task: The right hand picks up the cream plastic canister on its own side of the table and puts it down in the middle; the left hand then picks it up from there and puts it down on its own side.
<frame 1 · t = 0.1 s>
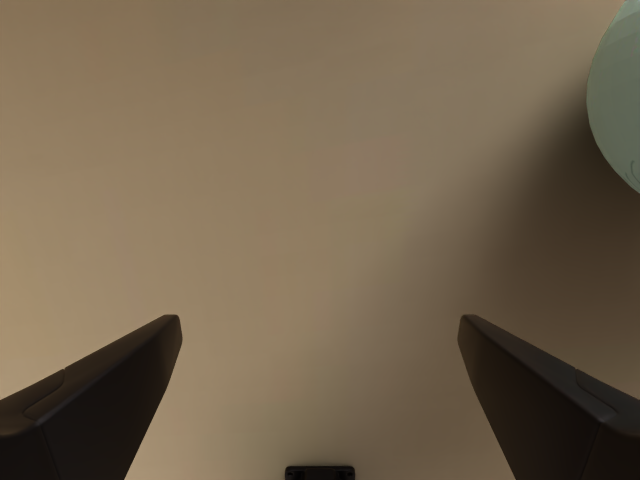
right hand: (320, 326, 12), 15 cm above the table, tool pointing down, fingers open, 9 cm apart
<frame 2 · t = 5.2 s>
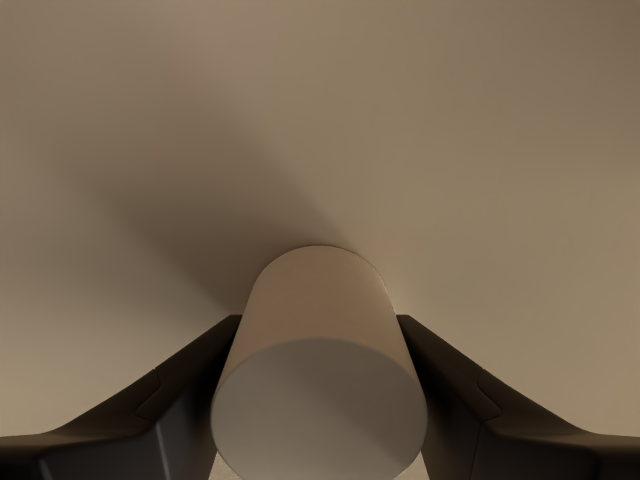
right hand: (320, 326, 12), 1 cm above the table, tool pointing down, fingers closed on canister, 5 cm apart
canister: (319, 309, 13), on the table, touching right hand
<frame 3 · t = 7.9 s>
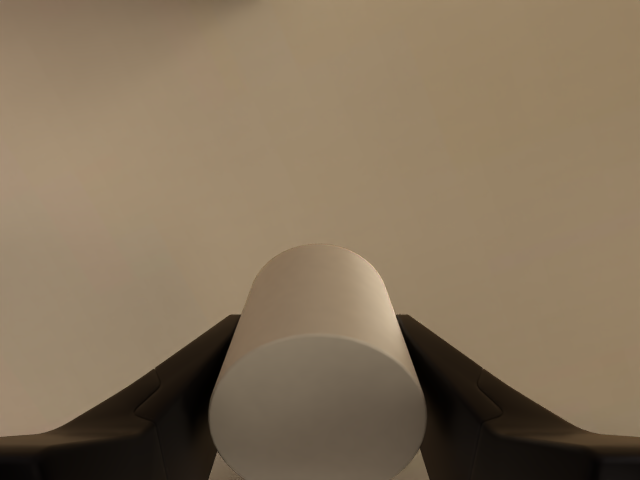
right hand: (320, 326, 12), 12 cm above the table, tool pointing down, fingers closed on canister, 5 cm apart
canister: (318, 307, 13), point 11 cm above the table, touching right hand
when the right hand's fingers open (2 cm above the table, at t = 10.6 s): canister stays where it is, on the table.
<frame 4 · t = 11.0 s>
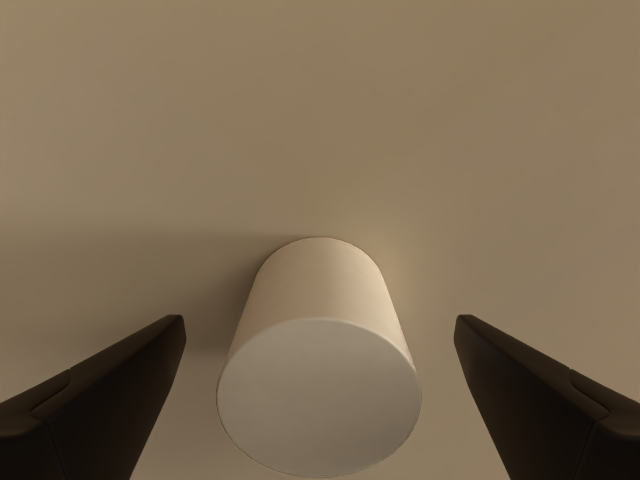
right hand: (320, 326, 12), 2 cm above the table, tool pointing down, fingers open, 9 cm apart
canister: (319, 299, 13), on the table
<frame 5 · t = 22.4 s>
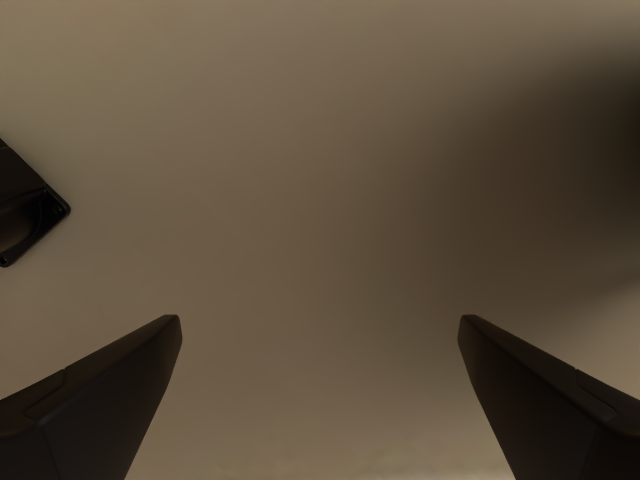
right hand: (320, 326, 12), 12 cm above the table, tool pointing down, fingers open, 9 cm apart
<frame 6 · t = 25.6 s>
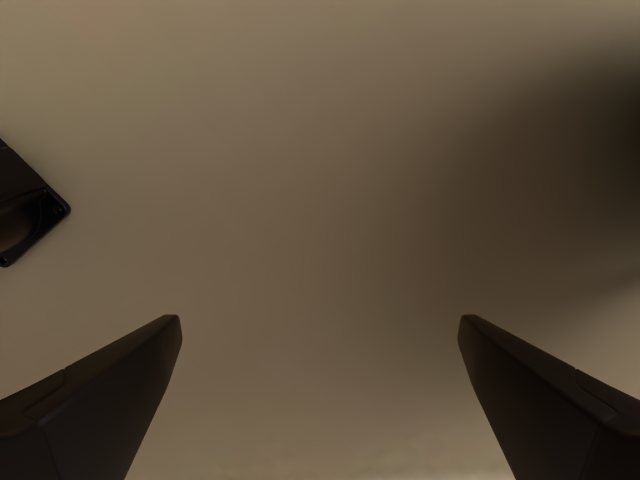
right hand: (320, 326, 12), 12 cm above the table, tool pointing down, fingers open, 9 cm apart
when the left hand's fingers open (2 cm above the table, at t = 28.8 s): canister stays where it is, on the table.
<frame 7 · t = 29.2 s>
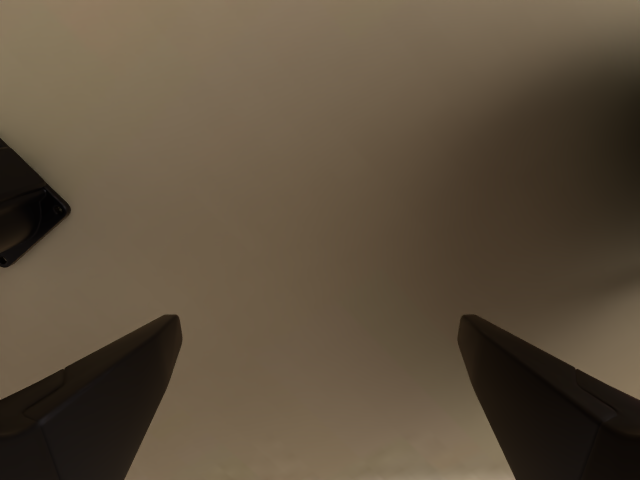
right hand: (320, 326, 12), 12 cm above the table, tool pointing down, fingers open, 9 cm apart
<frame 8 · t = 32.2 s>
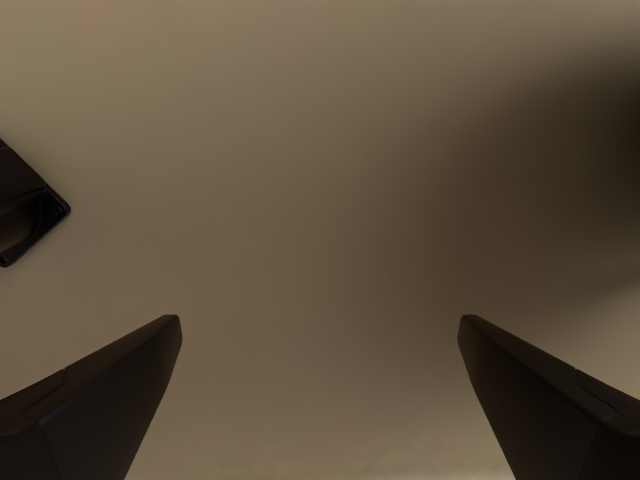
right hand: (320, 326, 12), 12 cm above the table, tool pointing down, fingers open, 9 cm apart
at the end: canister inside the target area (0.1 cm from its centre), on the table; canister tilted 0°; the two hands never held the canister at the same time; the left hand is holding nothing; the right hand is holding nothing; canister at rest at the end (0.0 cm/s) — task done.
